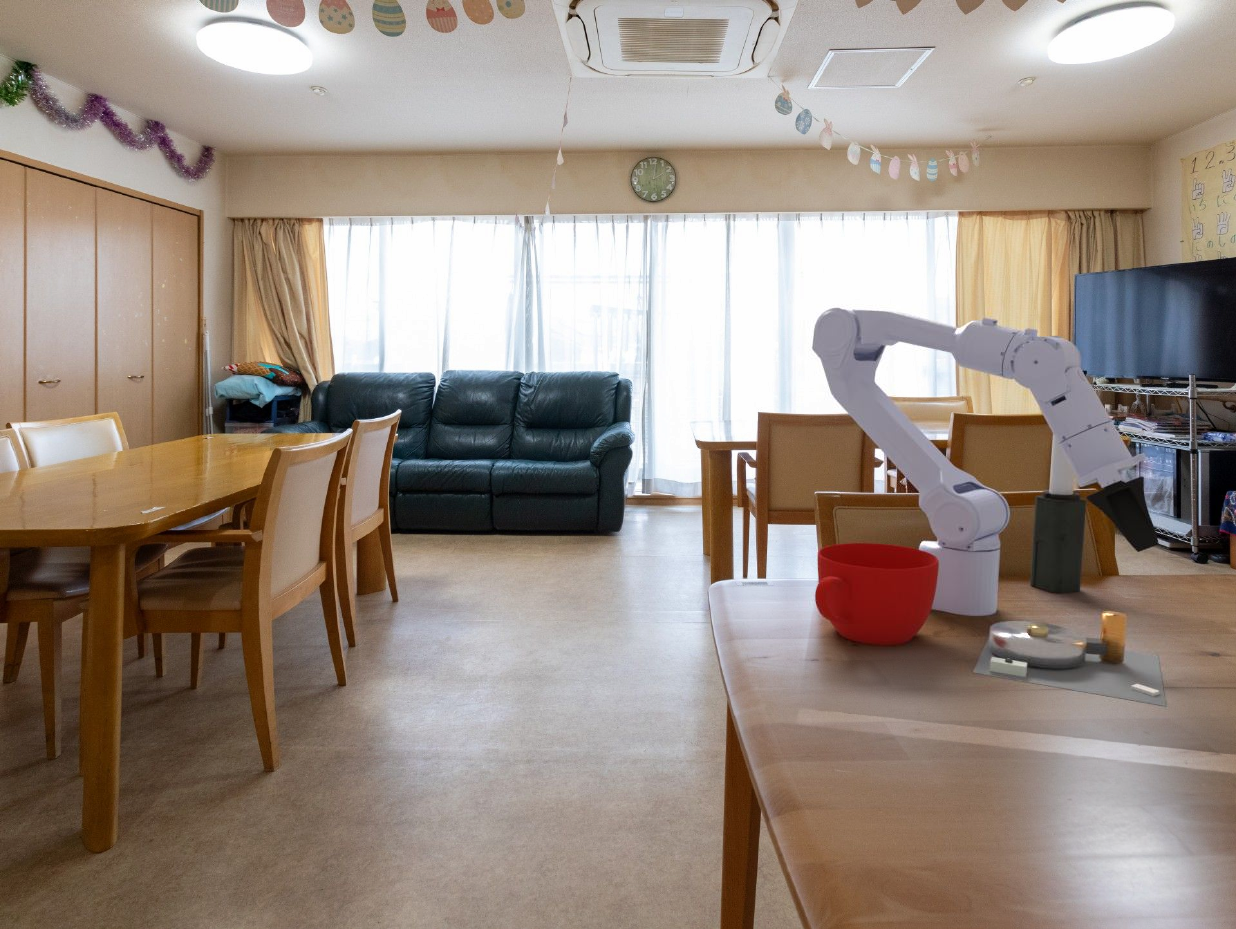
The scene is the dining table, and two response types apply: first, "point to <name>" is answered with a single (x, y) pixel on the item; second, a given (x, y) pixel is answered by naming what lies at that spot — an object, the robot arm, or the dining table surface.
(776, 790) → the dining table surface
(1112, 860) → the dining table surface
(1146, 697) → the stand
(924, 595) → the ceramic cup
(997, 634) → the crank wheel
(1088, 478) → the robot arm
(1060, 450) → the black and white bottle
